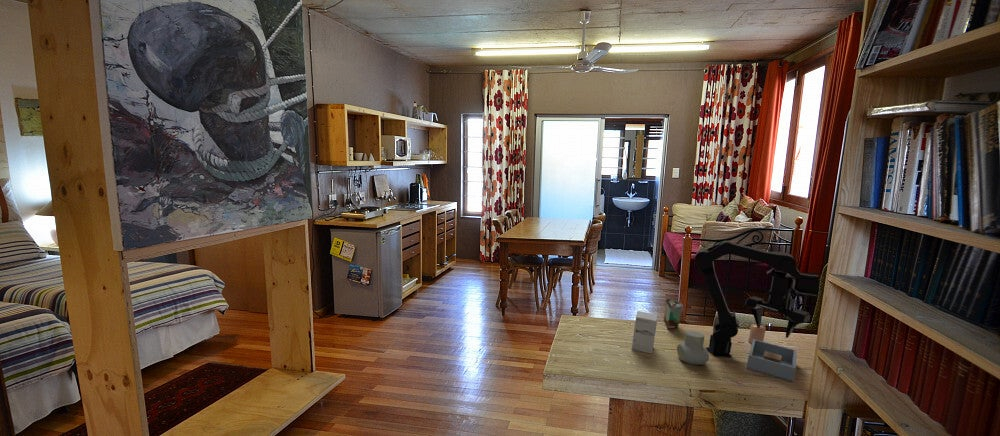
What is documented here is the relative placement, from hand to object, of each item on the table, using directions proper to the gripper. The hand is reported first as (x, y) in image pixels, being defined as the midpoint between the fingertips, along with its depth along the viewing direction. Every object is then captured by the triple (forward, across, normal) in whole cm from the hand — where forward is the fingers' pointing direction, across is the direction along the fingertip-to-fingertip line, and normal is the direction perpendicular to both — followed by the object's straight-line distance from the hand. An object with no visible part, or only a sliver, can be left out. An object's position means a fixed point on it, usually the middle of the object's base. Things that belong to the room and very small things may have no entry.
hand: (772, 332), depth 157 cm
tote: (+12, -1, 0) cm, 12 cm away
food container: (+12, +37, 0) cm, 39 cm away
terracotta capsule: (+12, +11, -16) cm, 23 cm away
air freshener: (+12, +15, +23) cm, 30 cm away
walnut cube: (+11, -3, +4) cm, 12 cm away
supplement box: (+12, +30, +30) cm, 44 cm away
